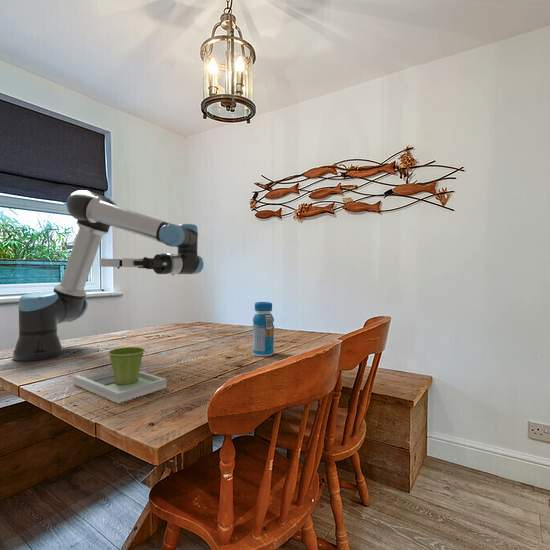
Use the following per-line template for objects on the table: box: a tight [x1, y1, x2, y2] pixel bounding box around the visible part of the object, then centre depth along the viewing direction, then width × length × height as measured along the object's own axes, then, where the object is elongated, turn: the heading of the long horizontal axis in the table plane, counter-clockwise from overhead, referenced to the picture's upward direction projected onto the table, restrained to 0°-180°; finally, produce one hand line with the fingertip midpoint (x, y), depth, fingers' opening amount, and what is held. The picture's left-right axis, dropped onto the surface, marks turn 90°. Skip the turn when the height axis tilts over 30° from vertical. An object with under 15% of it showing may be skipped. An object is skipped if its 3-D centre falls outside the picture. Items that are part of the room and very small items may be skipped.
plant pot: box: [107, 346, 146, 385], centre depth 95 cm, size 9×9×9 cm
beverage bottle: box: [252, 301, 275, 357], centre depth 132 cm, size 8×8×20 cm
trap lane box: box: [72, 370, 167, 404], centre depth 95 cm, size 23×14×2 cm, turn 54°
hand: (110, 262), depth 109 cm, fingers open, 13 cm apart
